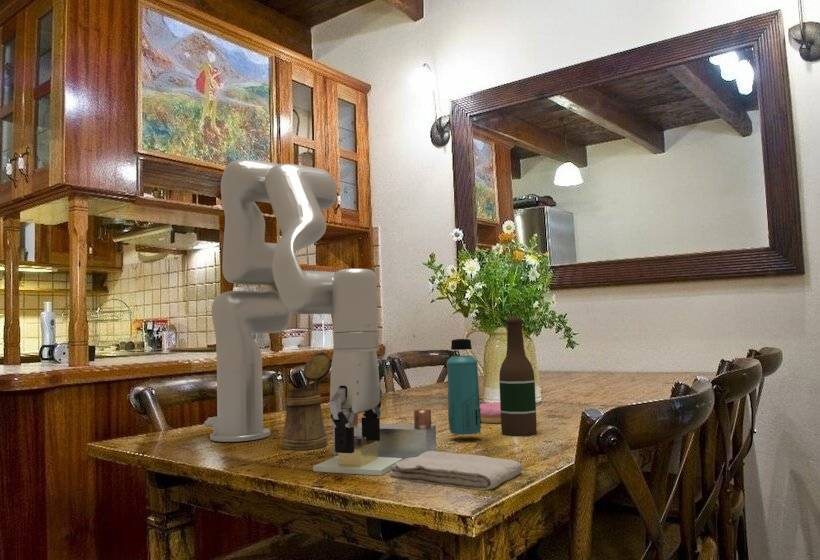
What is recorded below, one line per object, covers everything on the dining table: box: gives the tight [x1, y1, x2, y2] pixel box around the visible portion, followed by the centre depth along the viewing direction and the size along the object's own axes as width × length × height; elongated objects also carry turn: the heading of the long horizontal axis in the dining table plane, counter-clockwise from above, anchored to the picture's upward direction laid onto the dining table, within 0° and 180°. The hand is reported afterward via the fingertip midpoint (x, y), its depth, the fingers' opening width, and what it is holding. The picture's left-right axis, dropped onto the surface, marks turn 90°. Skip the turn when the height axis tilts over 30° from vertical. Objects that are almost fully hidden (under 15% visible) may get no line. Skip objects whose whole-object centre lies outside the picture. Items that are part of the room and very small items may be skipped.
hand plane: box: [332, 408, 437, 459], centre depth 114 cm, size 18×5×10 cm, turn 68°
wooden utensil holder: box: [281, 351, 332, 451], centre depth 127 cm, size 9×14×18 cm, turn 162°
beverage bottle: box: [446, 338, 482, 435], centre depth 127 cm, size 6×7×20 cm
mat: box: [312, 455, 404, 476], centre depth 104 cm, size 12×9×1 cm
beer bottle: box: [498, 316, 538, 437], centre depth 132 cm, size 8×8×24 cm
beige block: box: [337, 436, 378, 467], centre depth 104 cm, size 4×6×4 cm, turn 159°
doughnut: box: [480, 401, 501, 425], centre depth 149 cm, size 11×11×4 cm
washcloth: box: [389, 450, 523, 491], centre depth 97 cm, size 12×18×3 cm, turn 57°
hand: (358, 446), depth 104 cm, fingers open, 9 cm apart
